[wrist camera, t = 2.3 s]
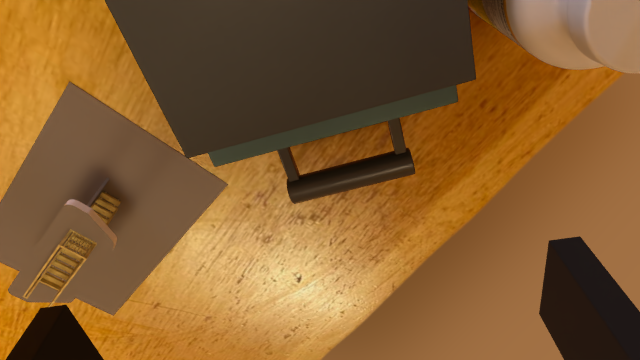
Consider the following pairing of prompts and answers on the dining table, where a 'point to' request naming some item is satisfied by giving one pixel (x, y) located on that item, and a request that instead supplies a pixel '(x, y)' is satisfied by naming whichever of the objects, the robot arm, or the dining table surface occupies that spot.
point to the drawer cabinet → (289, 60)
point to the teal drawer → (349, 173)
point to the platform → (96, 206)
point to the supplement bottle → (570, 30)
